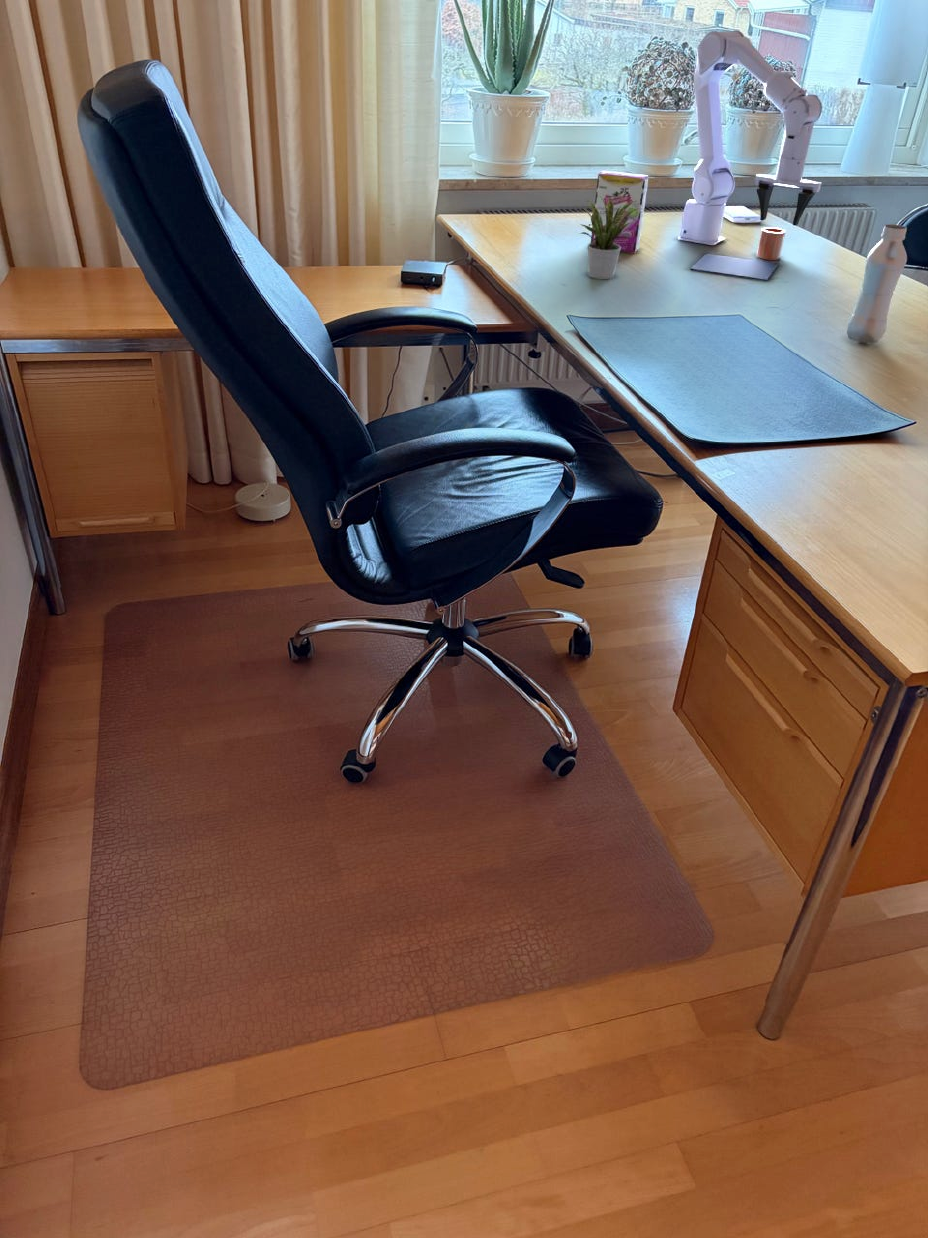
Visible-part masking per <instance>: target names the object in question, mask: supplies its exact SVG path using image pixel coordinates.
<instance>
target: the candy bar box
mask: <svg viewBox="0 0 928 1238" xmlns="http://www.w3.org/2000/svg"><path fill="white" fill-rule="evenodd" d="M649 177H650V176H649V175H647V174H639V173H638V174H637V173H629V172H620V171H612V170H611V171H610V170H609V171H608V170H602V171H600V172H599V173H598V174H597V180H596V181H597V182H596V191H595V200H594V206H595V207H596V209H597V210H598V212H599V213H600V215H601V218H602V222H603V226H605V228H606V210H605V205H604V202H605V204H606V206H607V202H608V199H610V200H611V202H612V204H613V217H612V222H613V219H614V216H615V214H616V211H617V209H618V208H619V207H620V206H621V207H620V209H619V211H620V210H621V209H622V207H623V205H626V204H627V203H629V202H632V201H636V202H634V203H632V204H631V205H630V206H629V207H627V208H626V210H625V211H624V212H623V213H622V214H624V215H623V216H622V217H621V219H620V220H619V221H618V222H617V224H616V226H618V225H619V224H620V223H621V221H622V219H623V218H624V217H625V216H626V214H627V213H629V212H630V211H632V210H635V209H639V210H636V211H633V212H632V213H631V214H630V215H629V216H628V217H627V218H626V219H625V221H624V222H623V223H622V225H621V227H622V226H624V225H625V224H627V223H631V224H628V225H627V226H626V227H625V228H624V229H623V230H622V231H621V232H620V235H619V236H625V237H627V238H628V239H626V238H616V240H615V241H614V243H615V244H618V245H620V246H621V249H620V252H621V253H622V252H623V253H629V254H636V252H637V251H638V250H639V249H640V243H641V234H642V229H643V228H642V227H643V220H644V213H645V205H646V200H647V199H646V198H647V191H648V185H649ZM599 195H600V196H601V197H600V196H599ZM605 197H606V198H605ZM601 198H602V199H603V200H604V202H603V201H602V199H601ZM606 199H607V200H606ZM607 210H608V207H607ZM619 211H618V212H619ZM595 221H596V220H595ZM596 224H597V222H596ZM621 227H620V228H621ZM591 228H593V226H592V225H591ZM598 229H599V228H598ZM625 231H630V232H631V234H632V236H631V234H630V233H623V232H625ZM613 235H614V234H613ZM590 236H591V237H592V238H593V239H592V238H591V237H590V243H593V242H594V241H595V235H594V234H593V233H592V232H591V234H590ZM619 236H618V237H619ZM612 237H613V236H612ZM611 239H612V238H611ZM593 240H594V241H593ZM610 241H611V240H610Z"/></svg>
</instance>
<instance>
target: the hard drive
mask: <svg viewBox="0 0 928 1238" xmlns="http://www.w3.org/2000/svg"><path fill="white" fill-rule="evenodd" d="M723 218H725V219H727V220H729V221H730V222H732V223H734V224H735V223H736V224H739V223H740V224H741V223H742V224H743V223H744V224H745V223H747V224H748V223H751V224H752V223H754V224H755V223H758V224H759V223H762V220H760V214H757V213H756V212H754V211H752V210H751V209H749V208H747V207H746V206H744V205H736V206H735V205H725V211H724V216H723Z"/></svg>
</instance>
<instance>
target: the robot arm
mask: <svg viewBox="0 0 928 1238" xmlns="http://www.w3.org/2000/svg"><path fill="white" fill-rule="evenodd" d="M696 54H697V60H696V65H695V69H694V73H693V87H694V88H693V91H694V103H695V114H696V127H697V128H696V129H697V137H698V138H697V140H698V151H699V152H698V153H699V161H698V164H697V165H696V167H694V170H693V182H692V185H691V193H692V196H693V198H694V199H689V200H687V201H686V203H685V205H684V208H683V212H682V217H681V225H680V230H679V236H678V237H677V239H678V240H679V241H684V242H690V243H697V244H701V245H702V244H703V245H710V246H716V245H717V244H719V243H721V242H723V241H725V240H726V237H724V236H721V232H722V227H723V222H724V211H725V206H727V204H726V203H727V202H728V199H729V197H730V196H731V195H732V194H733V192H734V190H735V186H736V178H735V176H734V174H733V172H732V167H731V162H729V160H728V159H727V158H726V156H725V154H724V141H723V139H724V138H723V128H722V127H723V125H722V116H721V115H722V114H721V112H722V111H721V100H720V99H721V98H720V85H719V83H720V81H721V79H722V78H723V76H724V75H725V74H726V72H727V71H728V70H730V69H731V68H732V67H733V66H734V65H739V66H741V67H742V68H743V69H744V70H745V71H747V72H748V73H749V74H750V75H752V77H754V78H755V79H756V80H757V81H758V82H759V83H761V84H762V85H763V86H764V87H763V94H764V96H765V97H766V98H767V99H768V100H769V101H770V102H771V103H772V104H773V105H774V106H775V107H776V108H777V109H778V110H779V111H780V112H781V114H782V118H783V121H784V125H785V126H784V134H783V139H782V143H781V148H780V153H779V158H778V163H777V168H776V172H775V175H772V174H761V173H759V174H756V175H755V178H754V182H753V185H756V186H757V187H756V193H757V194H756V195H757V198H758V203H759V210H760V214H759V216H760V220H762V221H765V220H767V217H768V212H769V206H770V205H769V204H770V201H771V197H772V195H773V190H774V187H775V188H780V189H781V188H783V189H790V190H796V191H800V192H798V194H797V202H796V209H795V213H794V217H793V221H792V226H794V227H795V226H798V225H799V223H800V220H801V218H802V216H803V214H804V212H805V210H806V209H807V206H808V205H809V204H810V202H811V201H812V200H813V198H814V196H815V195H816V194H818V193H820V191H821V187H822V181H821V182H820V181H815V180H810V179H806V178H805V179H804V178H803V175H804V171H805V165H806V162H807V157H808V152H809V149H810V148H809V147H810V143H811V139H812V135H813V134H812V133H813V130H814V125H815V123H816V122H817V121H818V120H819V118H820V117H821V115H822V110H823V104H822V101H821V99H820V98H819V96H818V95H817V94H815V93H814V94H813V93H810V94H808V89H806V87H801V85H799V83H798V82H796V81H795V80H794V78H793V77H794V74H793V73H792V72H791V71H785V70H781V71H776V70H775V68H773V66H772V65H771V64H770V63H769V62H768V60H767V59H766V58H765V57H764V56H763V55H762V54H761V53H760V52H759V51H758V49H757V48H756V47H755V46H754V45H753V43H752V41H751V38H749V37H747V36H745V34H744V33H743V32H742V31H740V30H736V29H734V30H729V31H727V30H726V31H718V30H717V31H716V30H712V31H709V32H707V33H706V34H705V35H704V36H703V38H702V40H701V41H700V42H699V44H698V45H697V46H696ZM762 221H761V222H762Z"/></svg>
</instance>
